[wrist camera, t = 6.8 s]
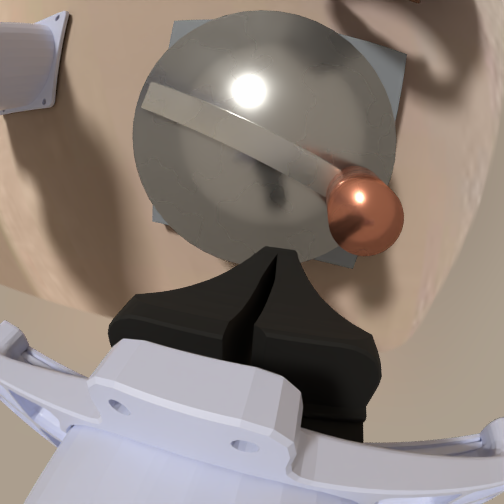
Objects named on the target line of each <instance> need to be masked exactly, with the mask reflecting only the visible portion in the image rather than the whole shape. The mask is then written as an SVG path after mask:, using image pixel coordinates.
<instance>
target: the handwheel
mask: <svg viewBox="0 0 504 504" xmlns="http://www.w3.org/2000/svg"><path fill="white" fill-rule="evenodd" d="M133 149H134V157H135V162H136V167H137V170H138V173H139V176H140V179H141V182H142V185H143V187H144V189H145V191H146V193H147V195H148V197H149V199H150V201H151V202H152V204H153V205H154V207H155V209H156V210H157V211H158V213H159V214H160V215H161V216H162V218H163V219H164V220H165V221H166V222H167V223H168V224H169V225H170V226H171V227H172V228H173V229H174V230H175V231H176V232H177V233H178V234H179V235H180V236H182V237H183V238H184V239H185V240H187V241H188V242H189V243H191V244H192V245H194V246H196V247H197V248H199V249H201V250H202V251H204V252H206V253H209V254H211V255H213V256H215V257H217V258H220V259H223V260H226V261H229V262H233V263H237V264H241V263H242V262H244V261H245V260H247V259H248V258H250V257H251V256H252V255H254V254H255V253H256V252H258V251H259V250H260V249H262V248H263V247H265V246H269V247H276V248H283V249H290V250H296V252H297V253H298V258H299V261H300V263H301V262H305V261H308V260H311V259H314V258H316V257H319V256H321V255H323V254H326V253H327V252H329V251H331V250H333V249H334V248H336V247H338V246H340V247H341V248H342V249H344V250H345V251H347V252H349V253H351V254H354V255H358V256H371V255H376V254H379V253H381V252H383V251H385V250H387V249H388V248H389V247H390V246H392V245H393V244H394V242H395V241H396V240H397V238H398V237H399V235H400V233H401V231H402V227H403V223H404V212H403V208H402V205H401V202H400V200H399V198H398V197H397V196H396V194H395V193H394V192H393V191H392V190H391V189H390V188H389V187H388V184H389V181H390V178H391V175H392V171H393V166H394V162H395V153H396V129H395V121H394V116H393V111H392V107H391V103H390V101H389V98H388V95H387V93H386V90H385V88H384V86H383V84H382V82H381V80H380V78H379V77H378V75H377V73H376V71H375V70H374V69H373V67H372V66H371V65H370V63H369V62H368V61H367V59H366V58H365V57H364V56H363V55H362V54H361V53H360V52H359V51H358V50H357V49H356V48H355V47H354V46H353V45H352V44H351V43H350V42H349V41H347V40H346V39H345V38H343V37H342V36H341V35H339V34H338V33H336V32H335V31H333V30H332V29H330V28H328V27H326V26H324V25H322V24H320V23H318V22H316V21H313V20H311V19H308V18H305V17H302V16H299V15H295V14H290V13H285V12H279V11H264V10H259V11H245V12H239V13H234V14H230V15H225V16H222V17H220V18H217V19H214V20H211V21H209V22H207V23H205V24H203V25H201V26H199V27H197V28H195V29H193V30H192V31H190V32H189V33H187V34H186V35H185V36H183V37H182V38H180V39H179V40H178V41H177V42H176V43H175V44H174V45H172V46H171V47H170V48H169V49H168V50H167V51H166V52H165V53H164V55H163V56H162V57H161V58H160V59H159V61H158V62H157V63H156V65H155V66H154V68H153V69H152V71H151V73H150V74H149V76H148V77H147V80H146V82H145V84H144V86H143V88H142V90H141V93H140V96H139V99H138V102H137V106H136V110H135V116H134V122H133Z"/></svg>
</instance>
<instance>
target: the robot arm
mask: <svg viewBox="0 0 504 504" xmlns="http://www.w3.org/2000/svg"><path fill="white" fill-rule="evenodd" d="M68 17H69V12H68V11H62V12H60V13H57V14H55V15H52V16H50V17H48V18H45V19H43V20H41V21H39V22H36V23H34V24H30V23H16V22H0V115H4V114H9V113H15V112H21V111H27V110H34V109H42V108H50V107H52V106H53V105H54V103H55V95H56V85H57V76H58V69H59V62H60V56H61V50H62V44H63V39H64V34H65V30H66V25H67V21H68ZM108 336H109V341H110V345H111V347H112V348H111V350H110V351H109V352H108V354H107V355H106V356H105V358H104V359H103V360H102V361H101V363H100V364H99V365H98V367H97V368H96V369H95V371H94V372H93V373H92V375H91V376H90V378H88V377H85V376H83V375H81V374H79V373H77V372H75V371H73V370H71V369H69V368H67V367H65V366H63V365H61V364H60V363H58V362H56V361H54V360H52V359H50V358H49V357H47V356H45V355H43V354H42V353H40V352H38V351H37V350H35V349H33V348H31V347H30V346H29V344H28V342H27V339H26V337H25V335H24V334H23V332H22V331H21V330H20V329H19V328H17V327H16V326H14V325H13V324H11V323H10V322H8V321H6V320H4V321H3V322H2V323H1V324H0V400H1V401H2V402H3V403H4V404H5V405H6V406H7V407H8V408H9V409H11V410H12V411H13V412H14V413H15V414H17V416H19V417H20V418H21V419H22V420H23V421H24V422H26V423H27V424H28V425H29V426H30V427H32V428H33V429H34V430H35V431H36V432H38V433H39V434H40V435H41V436H43V437H44V438H45V439H47V440H48V441H49V442H50V443H52V444H53V445H54V446H56V447H57V450H56V452H55V453H54V454H53V456H52V457H51V459H50V461H49V462H48V464H47V465H46V467H45V469H44V470H43V472H42V473H41V475H40V477H39V478H38V480H37V482H36V483H35V485H34V487H33V488H32V490H31V492H30V493H29V495H28V497H27V498H26V500H25V502H24V504H483V503H485V502H487V501H489V500H491V499H493V498H494V497H496V496H498V495H499V494H501V493H502V492H504V417H501V418H497V419H495V420H493V421H492V422H490V423H489V424H488V425H487V426H486V427H485V428H484V429H483V430H482V431H481V433H479V434H473V435H467V436H462V437H454V438H446V439H438V440H428V441H415V442H394V443H363V422H364V421H365V420H366V406H367V404H368V402H369V401H370V399H371V397H372V396H373V394H374V392H375V391H376V389H377V387H378V385H379V383H380V380H381V377H382V375H381V363H380V358H379V354H378V351H377V347H376V345H375V342H374V339H373V336H372V335H371V334H369V333H368V332H366V331H364V330H362V329H361V328H359V327H357V326H355V325H353V324H352V323H350V322H349V321H348V320H346V319H345V318H343V317H342V316H341V315H339V314H338V313H337V312H336V311H334V310H333V309H332V308H331V307H330V306H329V305H328V304H327V303H326V302H325V301H324V300H323V299H322V298H321V297H320V296H319V294H318V293H317V292H316V290H315V289H314V288H313V286H312V285H311V283H310V281H309V280H308V278H307V276H306V274H305V272H304V270H303V268H302V266H301V264H300V261H299V258H298V253H297V252H296V250H290V249H283V248H276V247H269V246H265V247H263V248H262V249H260V250H259V251H258V252H256V253H255V254H254V255H252V256H251V257H250V258H248V259H247V260H245V261H244V262H242V263H241V264H239V265H237V266H236V267H234V268H232V269H231V270H229V271H227V272H225V273H223V274H221V275H219V276H217V277H214V278H212V279H210V280H207V281H204V282H201V283H198V284H195V285H192V286H188V287H184V288H180V289H175V290H170V291H164V292H156V293H146V294H135V295H134V296H133V297H132V299H131V300H130V301H129V302H128V303H127V304H126V305H125V306H124V307H123V309H122V310H121V311H120V312H119V313H118V314H117V315H116V316H115V318H114V319H113V320H112V322H111V323H110V325H109V329H108Z"/></svg>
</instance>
